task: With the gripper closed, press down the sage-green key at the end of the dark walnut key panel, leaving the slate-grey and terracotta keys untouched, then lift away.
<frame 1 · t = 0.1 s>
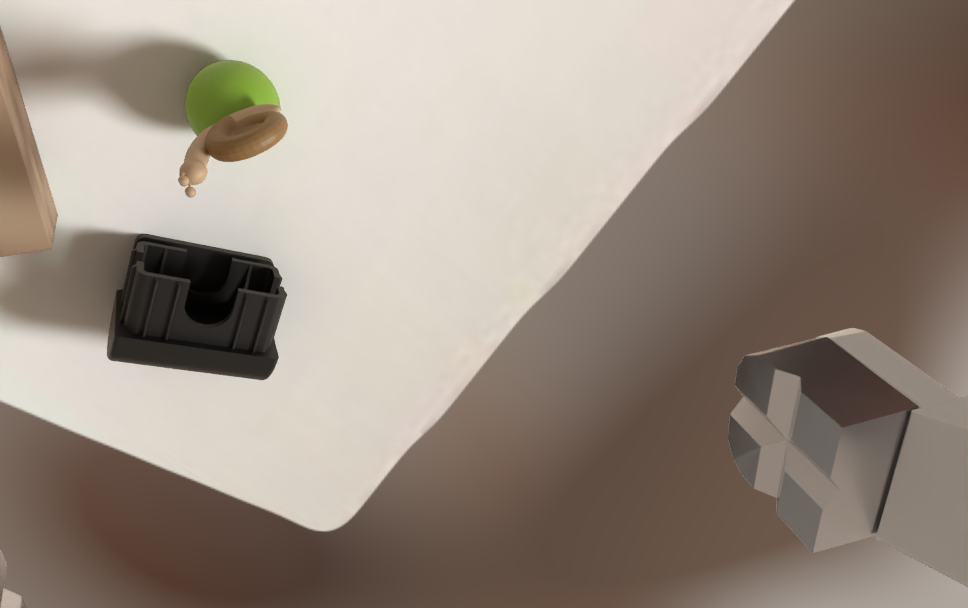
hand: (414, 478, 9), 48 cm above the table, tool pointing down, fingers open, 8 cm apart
end cap: (196, 290, 59), on the table
snail figurine: (221, 97, 53), on the table
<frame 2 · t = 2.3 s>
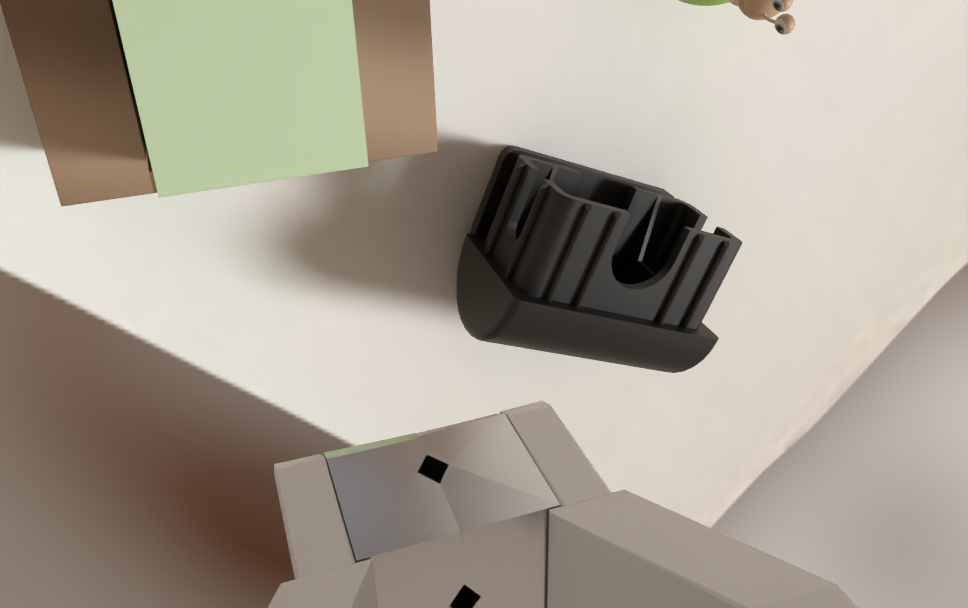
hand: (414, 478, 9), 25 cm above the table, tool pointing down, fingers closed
sage key: (242, 60, 25), point 6 cm above the table, slide at 0.0 cm
end cap: (559, 237, 39), on the table
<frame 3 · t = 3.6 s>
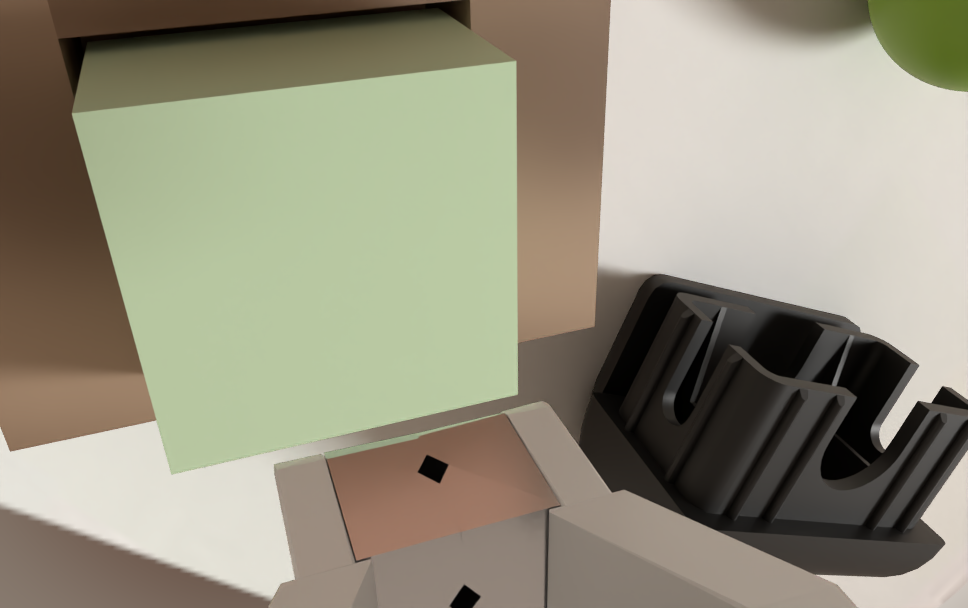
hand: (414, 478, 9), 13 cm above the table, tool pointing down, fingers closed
sage key: (312, 226, 15), point 6 cm above the table, slide at 0.0 cm
end cap: (705, 383, 29), on the table
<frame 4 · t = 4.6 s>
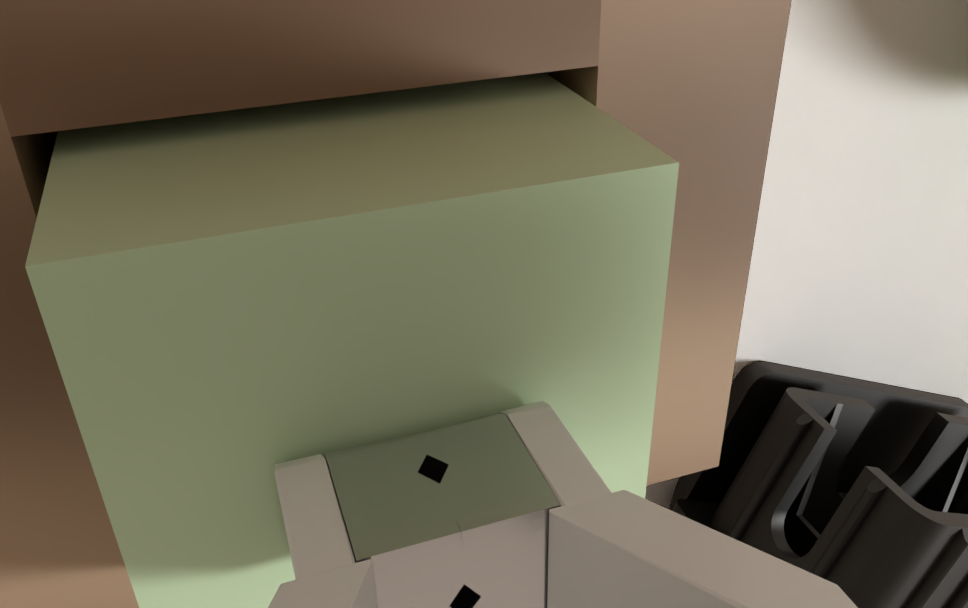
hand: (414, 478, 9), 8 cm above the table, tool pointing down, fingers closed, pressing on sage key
sage key: (368, 363, 11), point 6 cm above the table, slide at 0.5 cm, touching gripper
end cap: (798, 476, 25), on the table
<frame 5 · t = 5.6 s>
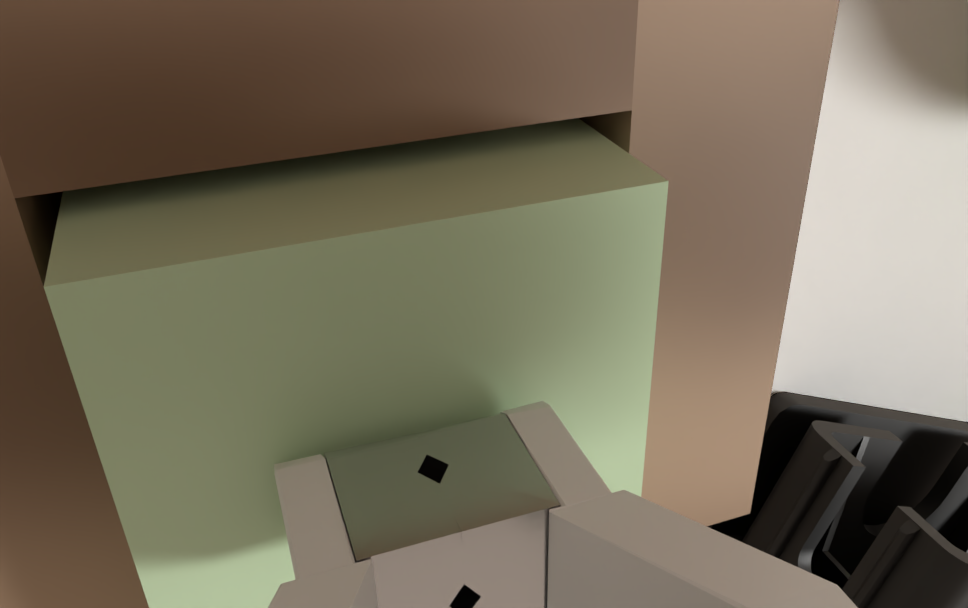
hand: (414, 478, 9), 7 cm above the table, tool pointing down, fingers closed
sage key: (370, 375, 11), point 4 cm above the table, slide at 1.6 cm
end cap: (821, 507, 24), on the table
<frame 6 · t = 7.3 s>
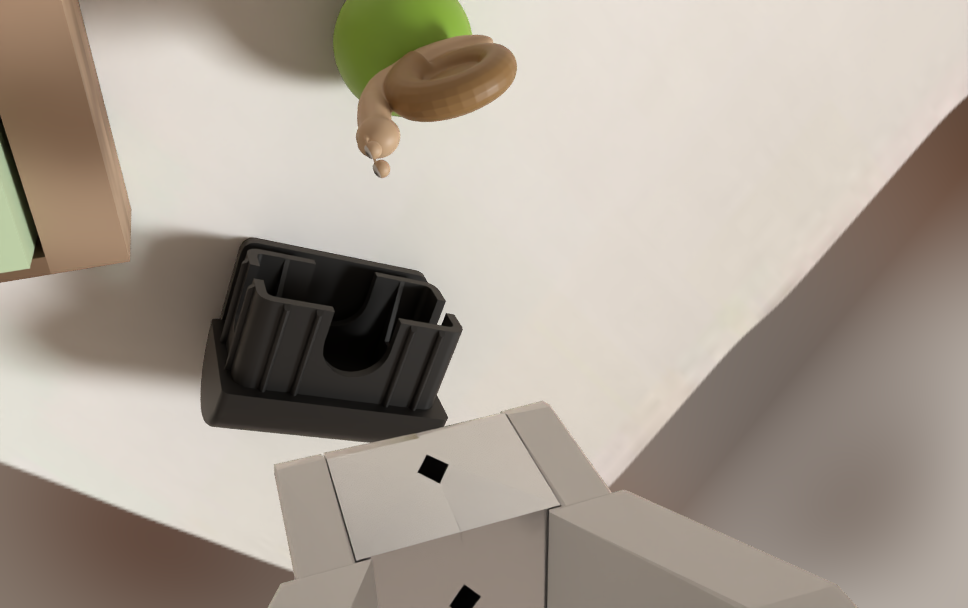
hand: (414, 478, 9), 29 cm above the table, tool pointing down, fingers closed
end cap: (317, 317, 42), on the table
snail figurine: (375, 35, 36), on the table
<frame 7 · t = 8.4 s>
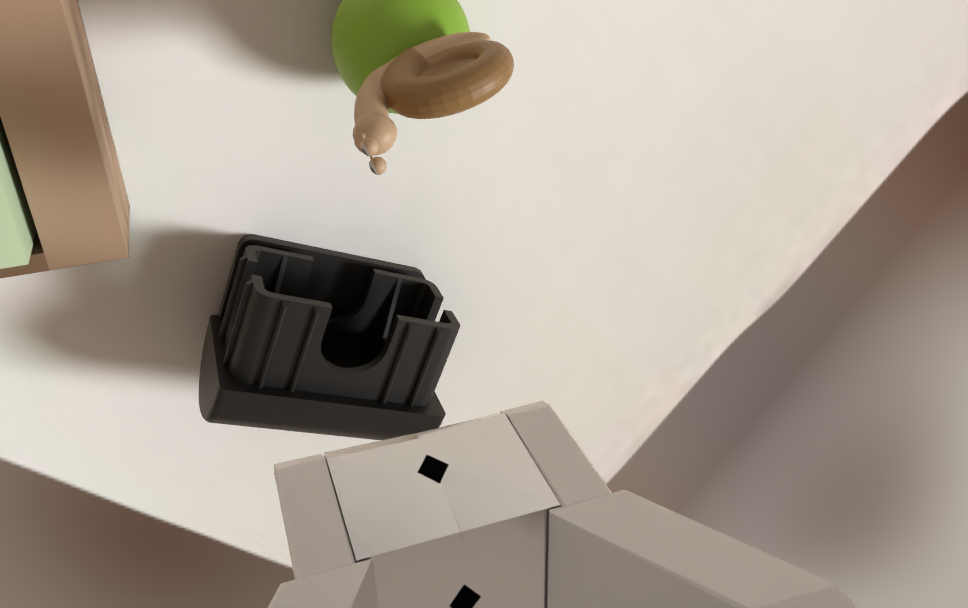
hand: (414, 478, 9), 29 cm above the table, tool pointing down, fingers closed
end cap: (316, 313, 42), on the table
snail figurine: (373, 32, 36), on the table
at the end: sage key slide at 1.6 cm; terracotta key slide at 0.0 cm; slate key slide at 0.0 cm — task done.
